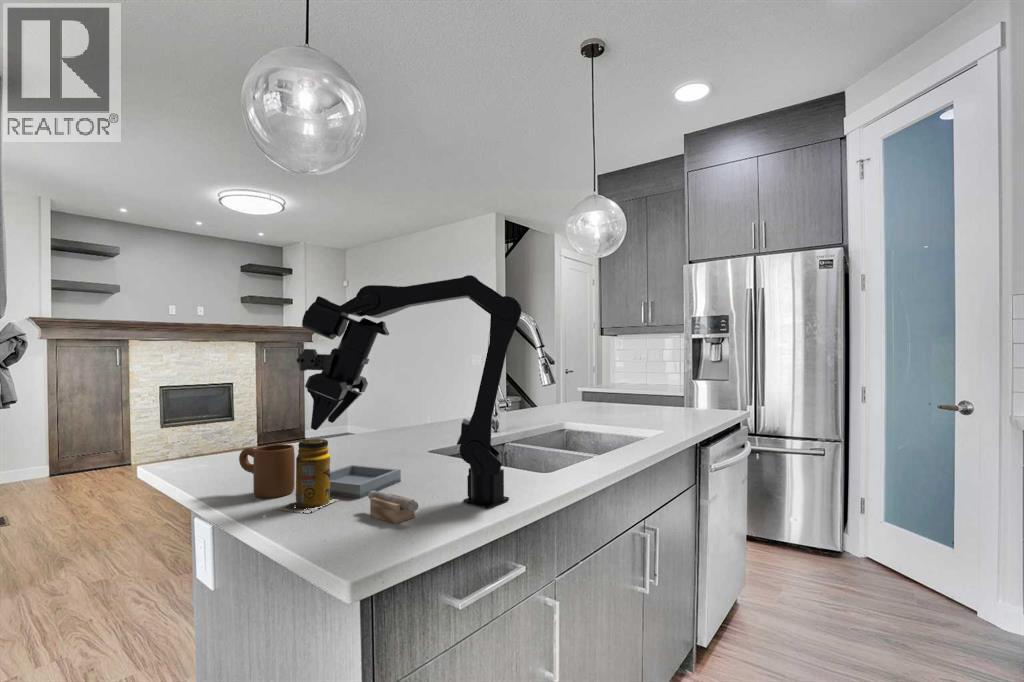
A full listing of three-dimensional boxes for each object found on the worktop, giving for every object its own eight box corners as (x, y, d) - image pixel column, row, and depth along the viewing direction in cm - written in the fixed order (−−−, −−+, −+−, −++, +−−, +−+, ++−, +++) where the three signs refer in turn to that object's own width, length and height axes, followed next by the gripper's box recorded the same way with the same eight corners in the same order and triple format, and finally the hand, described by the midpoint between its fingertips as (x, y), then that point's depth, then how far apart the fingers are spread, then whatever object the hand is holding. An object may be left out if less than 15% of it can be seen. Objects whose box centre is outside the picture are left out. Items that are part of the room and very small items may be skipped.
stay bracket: (425, 520, 83) (425, 499, 83) (407, 527, 80) (407, 505, 80) (378, 506, 91) (378, 487, 91) (360, 512, 88) (360, 492, 88)
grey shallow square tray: (400, 481, 109) (400, 469, 109) (360, 498, 96) (360, 485, 96) (351, 475, 114) (351, 464, 114) (307, 491, 101) (307, 478, 101)
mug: (225, 496, 98) (225, 449, 98) (253, 486, 106) (253, 442, 106) (277, 500, 96) (277, 452, 96) (302, 489, 103) (302, 444, 103)
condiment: (339, 500, 95) (339, 438, 95) (309, 514, 87) (309, 446, 87) (309, 497, 97) (309, 437, 98) (276, 510, 89) (276, 444, 90)
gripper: (330, 334, 102) (301, 404, 101) (295, 330, 83) (258, 416, 83) (380, 354, 102) (351, 424, 102) (356, 355, 84) (320, 440, 83)
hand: (322, 425), depth 92 cm, fingers open, 9 cm apart
